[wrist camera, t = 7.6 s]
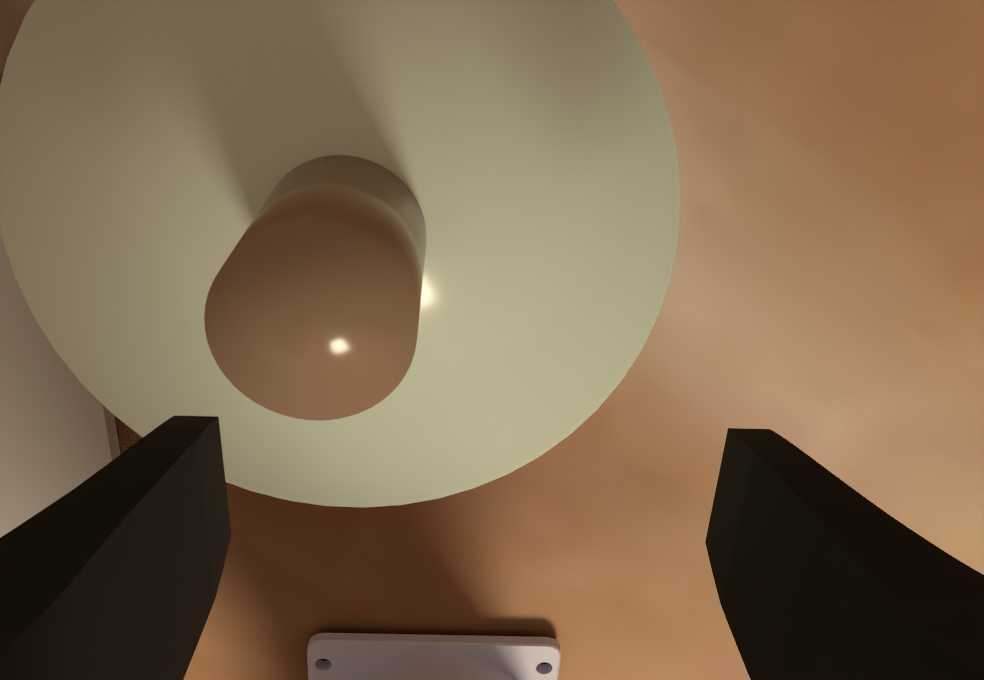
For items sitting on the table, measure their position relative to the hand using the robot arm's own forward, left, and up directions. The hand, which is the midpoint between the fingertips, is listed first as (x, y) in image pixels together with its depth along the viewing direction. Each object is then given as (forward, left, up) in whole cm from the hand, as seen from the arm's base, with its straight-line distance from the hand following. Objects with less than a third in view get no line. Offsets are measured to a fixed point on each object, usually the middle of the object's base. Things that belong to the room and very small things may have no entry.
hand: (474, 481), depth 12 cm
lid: (+2, +2, -6) cm, 7 cm away
